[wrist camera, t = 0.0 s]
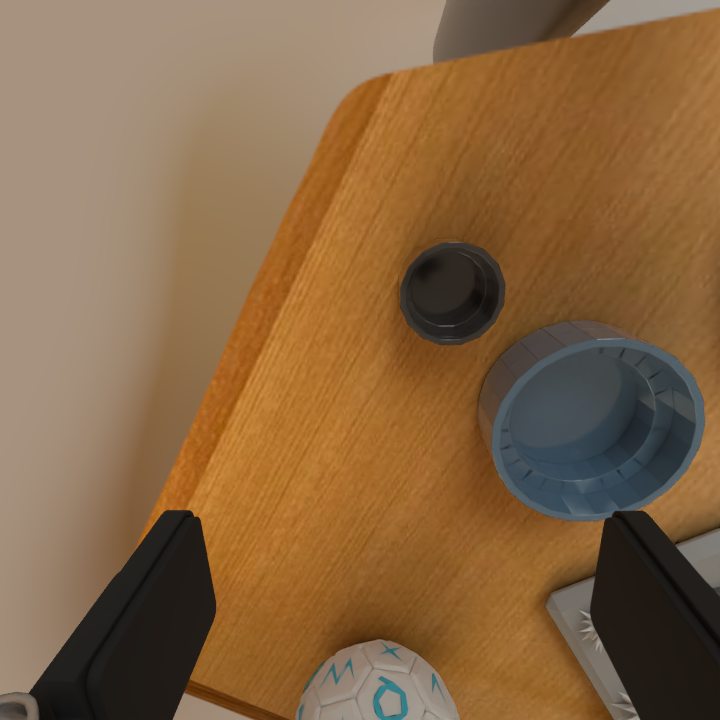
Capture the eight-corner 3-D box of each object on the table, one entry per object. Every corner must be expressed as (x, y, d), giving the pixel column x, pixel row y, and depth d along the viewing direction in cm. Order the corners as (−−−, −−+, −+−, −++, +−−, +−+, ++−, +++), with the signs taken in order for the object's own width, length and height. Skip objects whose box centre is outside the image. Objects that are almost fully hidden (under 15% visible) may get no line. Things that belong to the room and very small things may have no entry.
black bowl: (397, 239, 32) (399, 244, 28) (492, 236, 32) (508, 240, 28) (398, 329, 34) (400, 346, 30) (487, 327, 34) (501, 343, 30)
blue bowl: (480, 320, 34) (498, 341, 29) (672, 316, 33) (726, 335, 28) (472, 479, 38) (486, 521, 33) (641, 478, 38) (682, 521, 32)
